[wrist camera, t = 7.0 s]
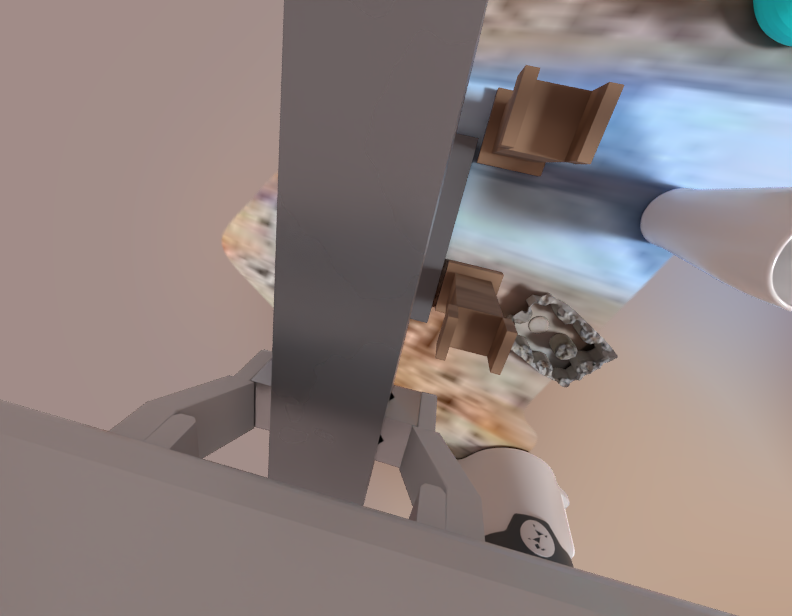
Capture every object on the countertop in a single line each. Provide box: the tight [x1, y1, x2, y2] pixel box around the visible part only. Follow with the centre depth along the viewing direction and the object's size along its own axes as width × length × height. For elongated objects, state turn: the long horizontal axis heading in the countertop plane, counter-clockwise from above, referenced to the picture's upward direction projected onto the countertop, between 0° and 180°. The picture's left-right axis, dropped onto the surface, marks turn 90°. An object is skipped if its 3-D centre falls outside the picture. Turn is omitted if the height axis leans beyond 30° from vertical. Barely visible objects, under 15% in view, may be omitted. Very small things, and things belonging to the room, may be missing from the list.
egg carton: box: [507, 293, 617, 387], centre depth 35 cm, size 11×8×4 cm
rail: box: [268, 0, 488, 506], centre depth 10 cm, size 20×3×3 cm, turn 169°
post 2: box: [477, 65, 624, 176], centre depth 24 cm, size 6×6×12 cm
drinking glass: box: [640, 187, 792, 312], centre depth 23 cm, size 7×7×15 cm
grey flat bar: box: [410, 133, 478, 323], centre depth 34 cm, size 20×7×1 cm, turn 168°
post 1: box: [435, 260, 518, 375], centre depth 31 cm, size 6×6×12 cm
